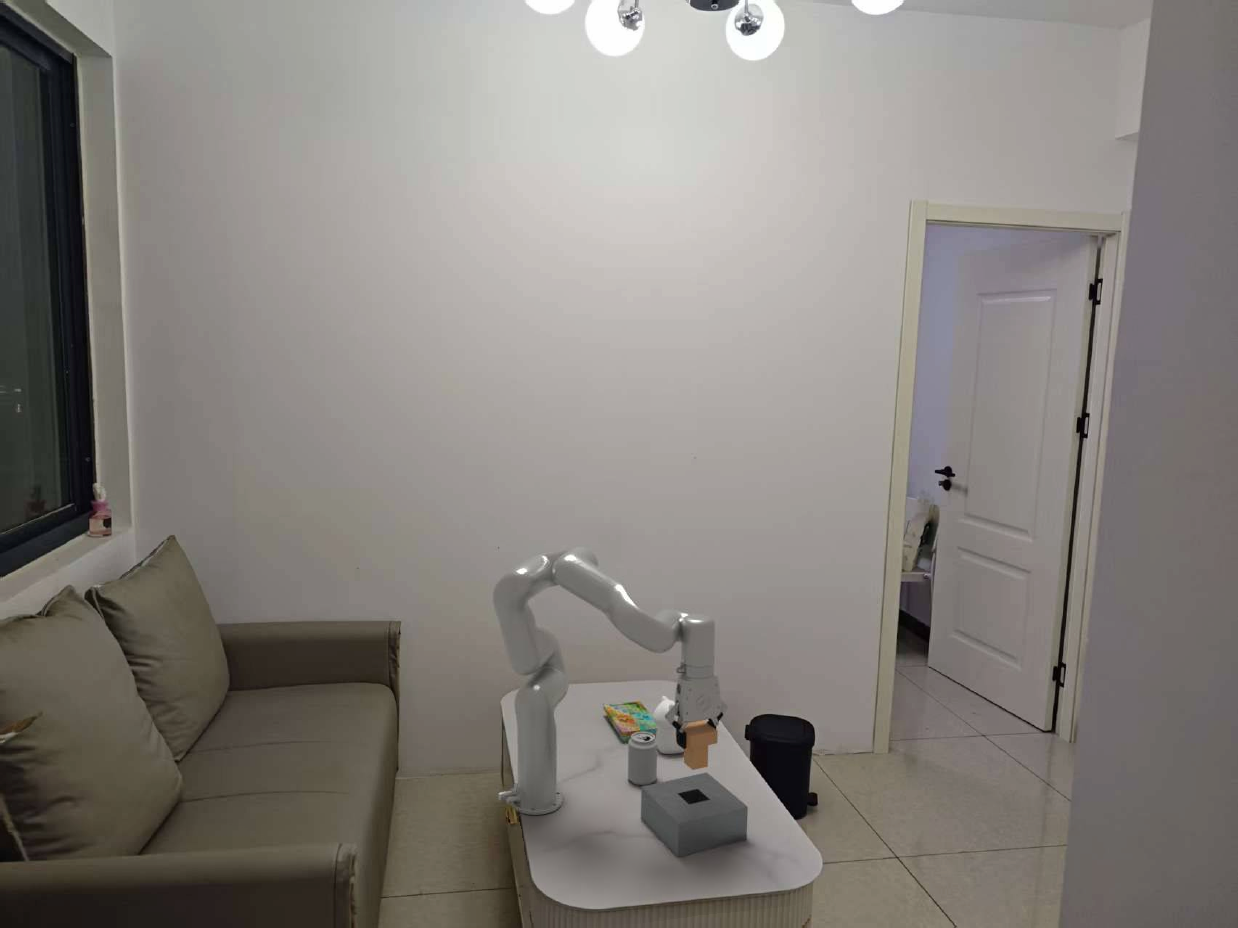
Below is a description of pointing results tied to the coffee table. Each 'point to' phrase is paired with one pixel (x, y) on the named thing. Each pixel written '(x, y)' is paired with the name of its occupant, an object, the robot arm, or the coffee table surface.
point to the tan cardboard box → (698, 743)
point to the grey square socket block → (693, 814)
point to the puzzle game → (630, 719)
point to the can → (642, 758)
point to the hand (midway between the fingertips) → (696, 742)
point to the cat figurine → (665, 728)
